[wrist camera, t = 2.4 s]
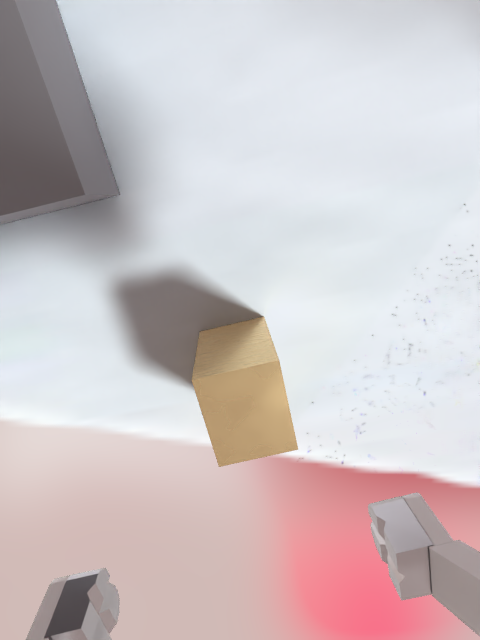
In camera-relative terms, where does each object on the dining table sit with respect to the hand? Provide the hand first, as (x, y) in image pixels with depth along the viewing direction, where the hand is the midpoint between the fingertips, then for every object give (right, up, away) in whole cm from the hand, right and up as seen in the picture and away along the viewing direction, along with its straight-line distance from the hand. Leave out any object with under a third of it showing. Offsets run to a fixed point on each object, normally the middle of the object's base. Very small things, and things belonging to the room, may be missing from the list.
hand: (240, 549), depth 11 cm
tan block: (0, +4, +11) cm, 12 cm away
